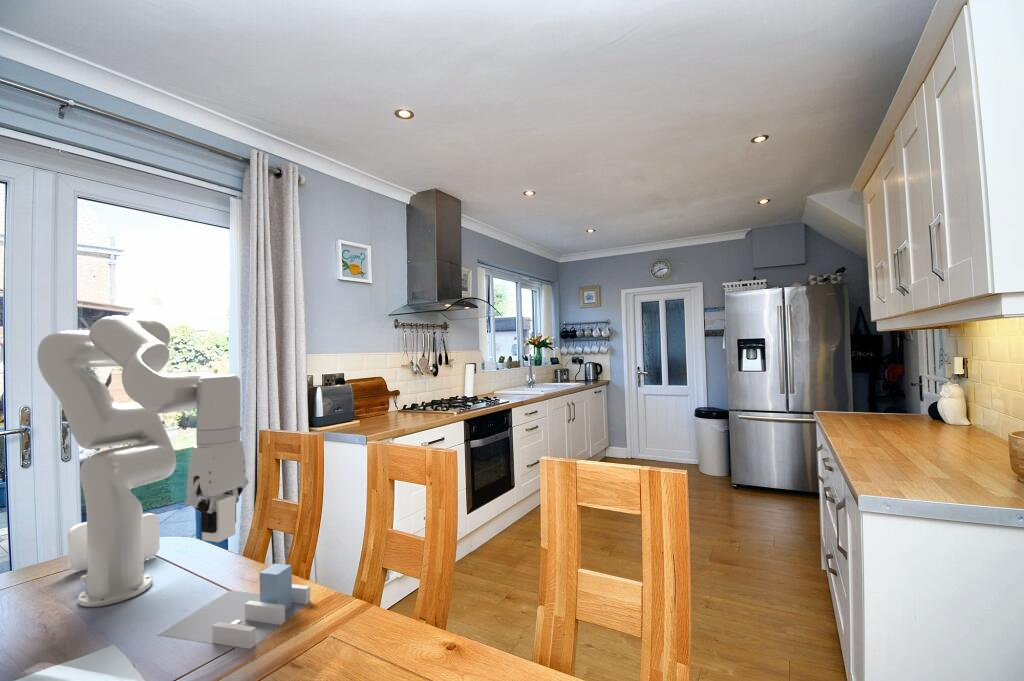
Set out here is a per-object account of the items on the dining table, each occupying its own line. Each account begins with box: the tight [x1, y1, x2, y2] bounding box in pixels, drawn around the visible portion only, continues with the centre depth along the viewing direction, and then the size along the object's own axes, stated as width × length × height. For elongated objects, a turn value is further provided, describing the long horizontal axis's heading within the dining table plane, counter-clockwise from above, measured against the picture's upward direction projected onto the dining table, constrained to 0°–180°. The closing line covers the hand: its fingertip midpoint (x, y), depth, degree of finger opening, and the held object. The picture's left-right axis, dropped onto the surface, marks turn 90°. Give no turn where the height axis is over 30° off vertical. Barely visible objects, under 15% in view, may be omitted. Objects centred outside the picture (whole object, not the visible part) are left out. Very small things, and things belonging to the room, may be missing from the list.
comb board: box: [157, 583, 312, 651], centre depth 91 cm, size 20×16×4 cm
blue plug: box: [259, 563, 293, 611], centre depth 94 cm, size 4×4×8 cm
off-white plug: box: [201, 494, 236, 543], centre depth 95 cm, size 4×4×8 cm
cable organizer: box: [67, 512, 160, 571], centre depth 119 cm, size 15×11×12 cm
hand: (218, 526), depth 95 cm, fingers closed on off-white plug, 4 cm apart
